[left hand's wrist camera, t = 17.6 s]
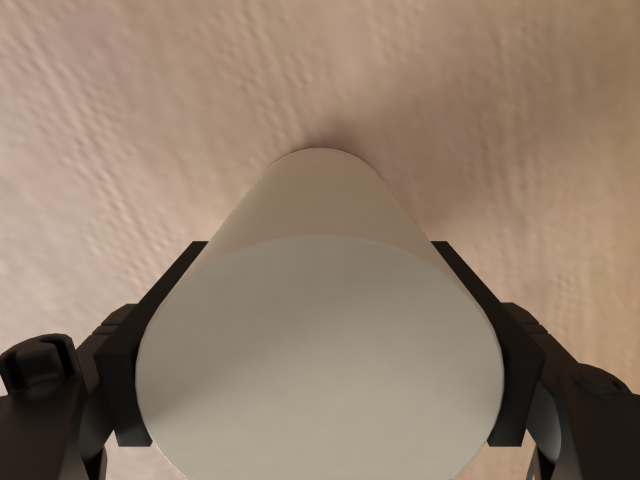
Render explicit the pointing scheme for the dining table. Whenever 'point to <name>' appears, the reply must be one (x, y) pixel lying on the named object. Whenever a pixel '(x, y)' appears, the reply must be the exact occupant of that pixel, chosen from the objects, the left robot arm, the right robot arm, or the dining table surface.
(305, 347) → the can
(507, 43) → the dining table surface
